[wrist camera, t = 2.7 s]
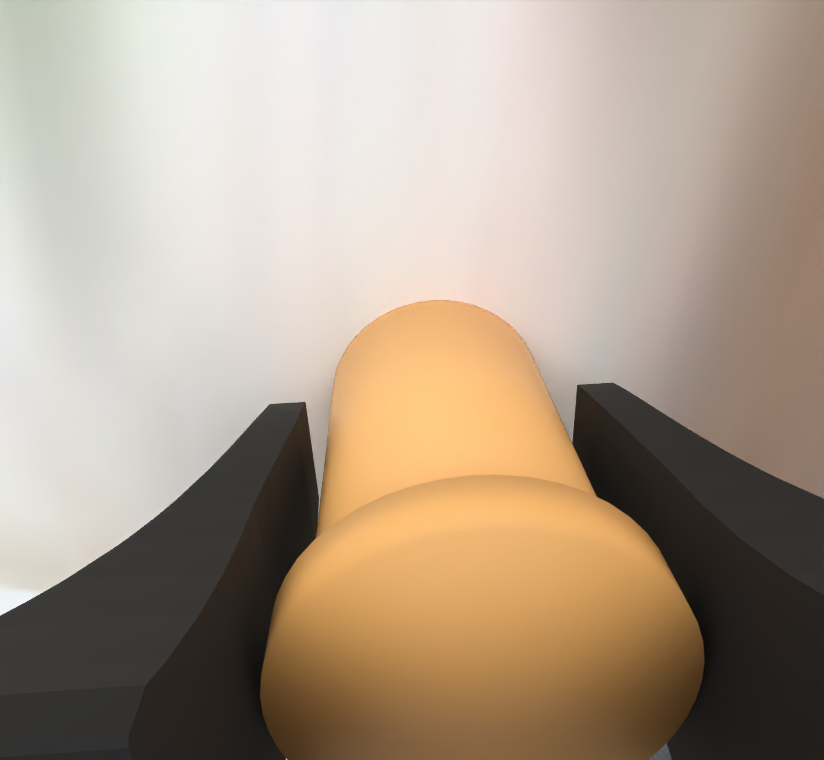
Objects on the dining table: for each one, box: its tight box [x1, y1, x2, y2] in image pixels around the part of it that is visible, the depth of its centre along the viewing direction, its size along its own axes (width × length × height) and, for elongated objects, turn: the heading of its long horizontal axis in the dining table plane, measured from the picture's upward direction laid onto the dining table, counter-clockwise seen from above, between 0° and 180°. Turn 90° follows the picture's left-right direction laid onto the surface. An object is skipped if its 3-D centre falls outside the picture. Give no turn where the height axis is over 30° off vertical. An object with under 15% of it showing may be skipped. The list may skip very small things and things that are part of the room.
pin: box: [260, 300, 705, 760], centre depth 10 cm, size 5×5×7 cm
